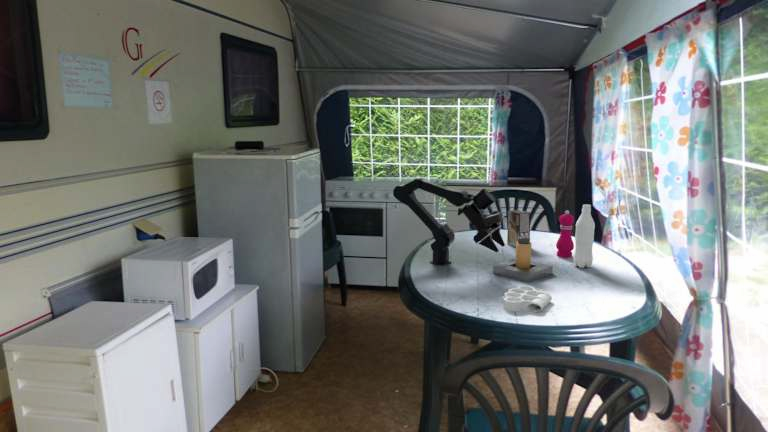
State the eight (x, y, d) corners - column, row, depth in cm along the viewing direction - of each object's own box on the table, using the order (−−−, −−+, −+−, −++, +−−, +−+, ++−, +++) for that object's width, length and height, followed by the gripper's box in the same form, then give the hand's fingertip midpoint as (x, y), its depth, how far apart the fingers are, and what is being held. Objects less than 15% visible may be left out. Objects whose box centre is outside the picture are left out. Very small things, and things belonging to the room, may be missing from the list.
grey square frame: (528, 282, 192) (529, 274, 192) (492, 272, 204) (493, 265, 203) (552, 273, 203) (552, 265, 202) (516, 264, 214) (517, 257, 214)
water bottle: (593, 269, 208) (598, 206, 203) (574, 268, 209) (578, 206, 204) (590, 264, 215) (594, 203, 210) (571, 263, 216) (575, 203, 211)
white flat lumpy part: (538, 317, 160) (492, 308, 168) (554, 300, 175) (511, 292, 183) (538, 307, 160) (492, 298, 167) (554, 290, 175) (511, 283, 182)
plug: (518, 275, 200) (520, 235, 197) (512, 271, 206) (514, 232, 203) (532, 274, 201) (534, 234, 198) (526, 270, 206) (528, 231, 203)
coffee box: (530, 247, 243) (531, 212, 240) (519, 248, 240) (520, 213, 237) (517, 242, 251) (518, 209, 248) (506, 244, 248) (507, 210, 245)
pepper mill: (570, 254, 230) (573, 208, 227) (575, 258, 223) (578, 212, 220) (553, 253, 231) (556, 208, 227) (557, 258, 224) (560, 211, 220)
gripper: (483, 209, 196) (510, 242, 193) (497, 201, 212) (522, 231, 209) (462, 226, 201) (488, 259, 199) (477, 217, 217) (501, 247, 215)
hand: (501, 248), depth 205 cm, fingers open, 9 cm apart
